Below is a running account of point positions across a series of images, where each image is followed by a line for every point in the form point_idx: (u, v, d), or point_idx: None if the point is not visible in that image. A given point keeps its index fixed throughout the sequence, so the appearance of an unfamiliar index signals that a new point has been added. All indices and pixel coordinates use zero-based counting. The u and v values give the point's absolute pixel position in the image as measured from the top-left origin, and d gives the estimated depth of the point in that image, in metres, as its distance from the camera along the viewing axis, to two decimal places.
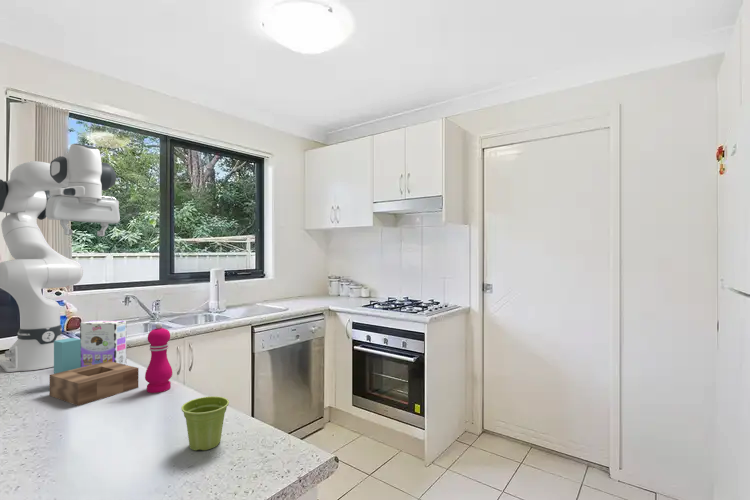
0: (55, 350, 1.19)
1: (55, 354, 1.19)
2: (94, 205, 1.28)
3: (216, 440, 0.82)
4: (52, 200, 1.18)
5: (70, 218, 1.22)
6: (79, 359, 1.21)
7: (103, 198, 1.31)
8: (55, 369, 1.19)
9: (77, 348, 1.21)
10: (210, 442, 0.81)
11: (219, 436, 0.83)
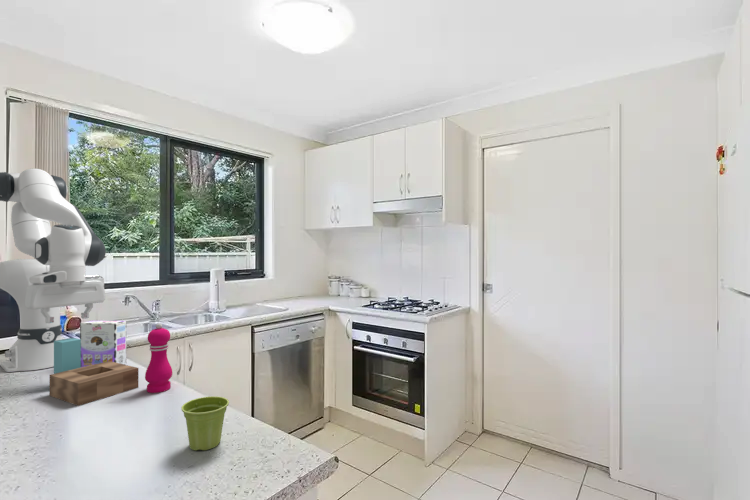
0: (55, 350, 1.19)
1: (55, 354, 1.19)
2: (77, 287, 1.21)
3: (216, 440, 0.82)
4: (31, 289, 1.12)
5: (51, 306, 1.15)
6: (79, 359, 1.21)
7: (87, 278, 1.25)
8: (55, 369, 1.19)
9: (77, 348, 1.21)
10: (210, 442, 0.81)
11: (219, 436, 0.83)
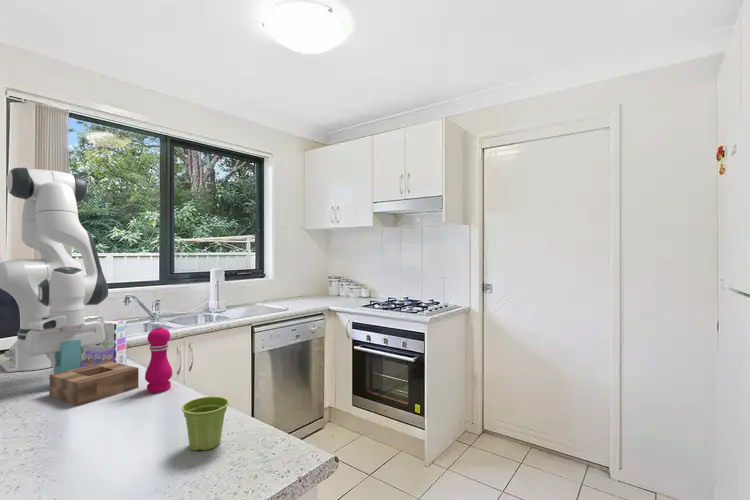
0: None
1: (55, 354, 1.19)
2: (77, 330, 1.21)
3: (216, 440, 0.82)
4: (31, 336, 1.12)
5: (51, 351, 1.15)
6: (79, 359, 1.21)
7: (87, 320, 1.25)
8: (55, 369, 1.19)
9: (77, 348, 1.21)
10: (210, 442, 0.81)
11: (219, 436, 0.83)
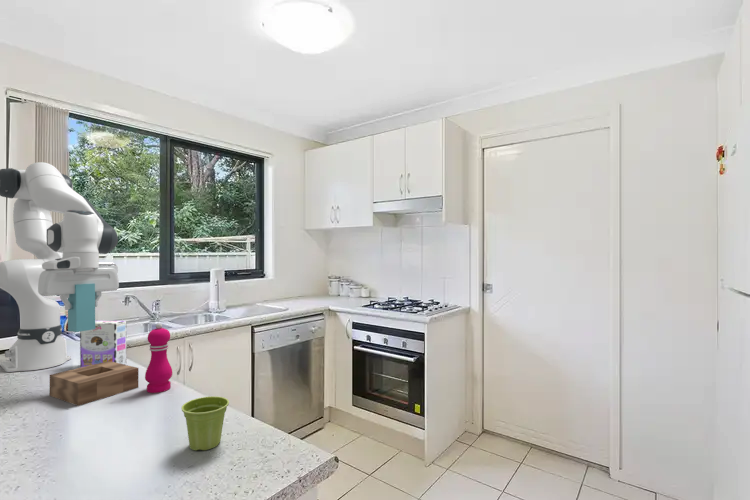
0: (69, 294, 1.16)
1: (69, 298, 1.16)
2: (91, 274, 1.18)
3: (216, 440, 0.82)
4: (45, 275, 1.09)
5: (65, 292, 1.12)
6: (93, 304, 1.18)
7: (100, 265, 1.22)
8: (69, 313, 1.16)
9: (91, 292, 1.18)
10: (210, 442, 0.81)
11: (219, 436, 0.83)
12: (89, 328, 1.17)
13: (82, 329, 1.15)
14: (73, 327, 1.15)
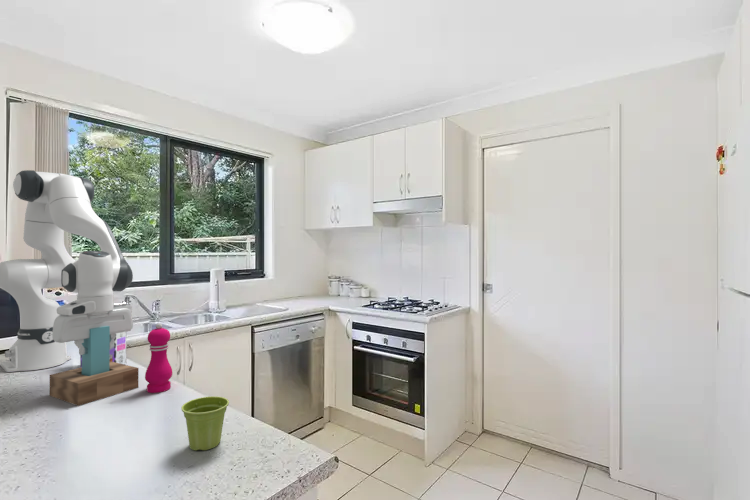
0: None
1: None
2: (105, 317, 1.16)
3: (216, 440, 0.82)
4: (60, 321, 1.06)
5: (79, 338, 1.10)
6: (108, 347, 1.16)
7: (115, 306, 1.19)
8: (83, 357, 1.13)
9: (106, 335, 1.15)
10: (210, 442, 0.81)
11: (219, 436, 0.83)
12: (103, 372, 1.14)
13: None
14: (87, 371, 1.12)
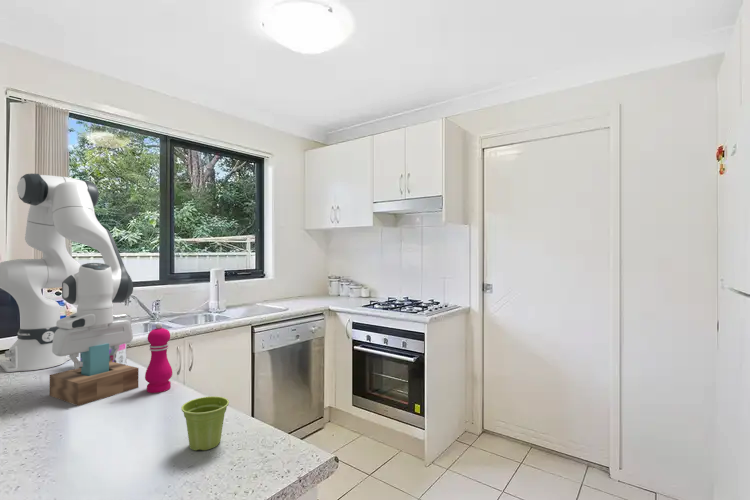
0: (83, 355, 1.13)
1: (83, 359, 1.13)
2: (105, 329, 1.16)
3: (216, 440, 0.82)
4: (60, 335, 1.06)
5: (79, 351, 1.10)
6: (107, 364, 1.16)
7: (115, 318, 1.19)
8: None
9: (105, 353, 1.15)
10: (210, 442, 0.81)
11: (219, 436, 0.83)
12: None
13: None
14: None
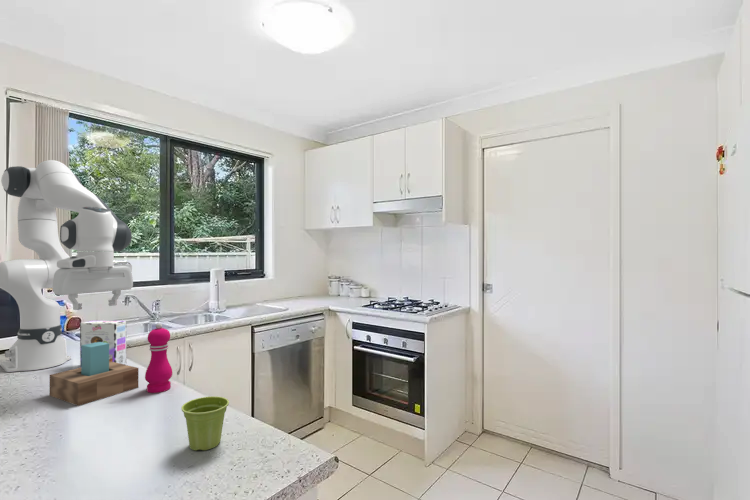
0: (83, 355, 1.13)
1: (83, 359, 1.13)
2: (105, 273, 1.16)
3: (216, 440, 0.82)
4: (60, 274, 1.06)
5: (79, 291, 1.10)
6: (107, 364, 1.16)
7: (115, 264, 1.19)
8: None
9: (105, 353, 1.15)
10: (210, 442, 0.81)
11: (219, 436, 0.83)
12: None
13: None
14: None
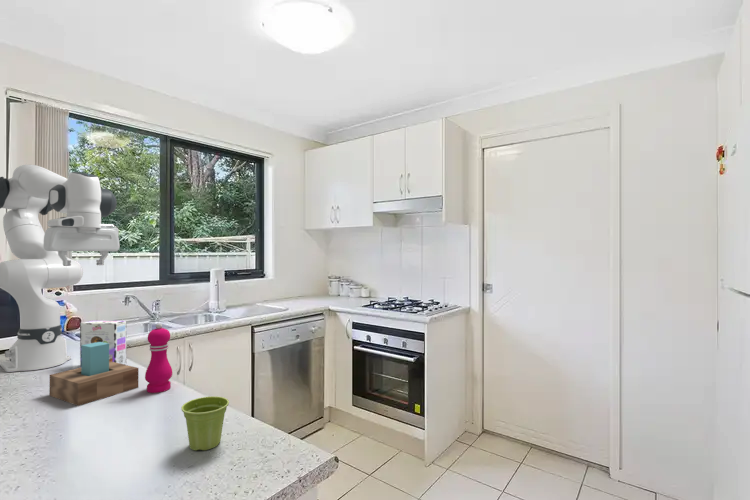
0: (83, 355, 1.13)
1: (83, 359, 1.13)
2: (93, 234, 1.25)
3: (216, 440, 0.82)
4: (50, 231, 1.15)
5: (68, 249, 1.18)
6: (107, 364, 1.16)
7: (102, 226, 1.28)
8: None
9: (105, 353, 1.15)
10: (210, 442, 0.81)
11: (219, 436, 0.83)
12: None
13: None
14: None
